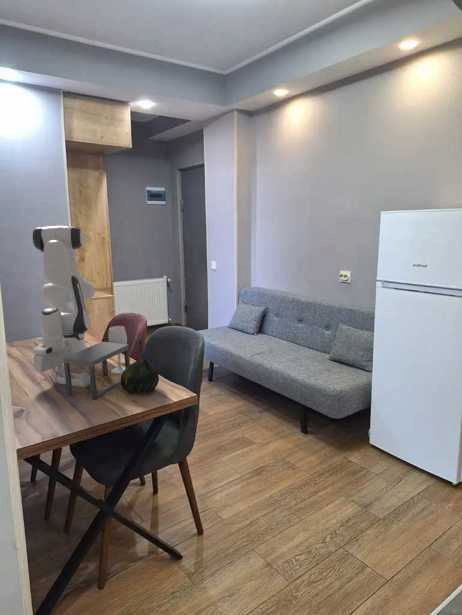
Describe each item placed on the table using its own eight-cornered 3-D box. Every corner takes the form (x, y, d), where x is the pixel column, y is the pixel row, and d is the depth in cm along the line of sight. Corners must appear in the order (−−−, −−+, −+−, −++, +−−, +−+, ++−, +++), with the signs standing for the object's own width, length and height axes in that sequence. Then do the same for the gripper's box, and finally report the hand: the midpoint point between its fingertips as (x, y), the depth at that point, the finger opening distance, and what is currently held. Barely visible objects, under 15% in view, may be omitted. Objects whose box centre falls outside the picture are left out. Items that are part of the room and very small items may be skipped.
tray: (58, 383, 183) (57, 373, 182) (68, 378, 188) (67, 368, 187) (84, 387, 177) (83, 377, 176) (93, 382, 183) (92, 372, 182)
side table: (67, 395, 170) (63, 358, 166) (105, 375, 191) (102, 341, 188) (95, 400, 164) (91, 361, 161) (131, 379, 186) (128, 344, 183)
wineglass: (124, 374, 192) (121, 330, 187) (107, 373, 193) (103, 329, 189) (132, 368, 200) (129, 325, 196) (115, 367, 202) (112, 325, 197)
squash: (113, 376, 175) (122, 356, 165) (146, 369, 184) (156, 350, 174) (124, 406, 168) (134, 387, 158) (157, 397, 177) (169, 379, 168)
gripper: (65, 338, 194) (68, 367, 197) (29, 351, 175) (33, 382, 178) (76, 339, 192) (78, 368, 194) (41, 352, 173) (44, 384, 176)
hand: (56, 375), depth 186 cm, fingers closed
